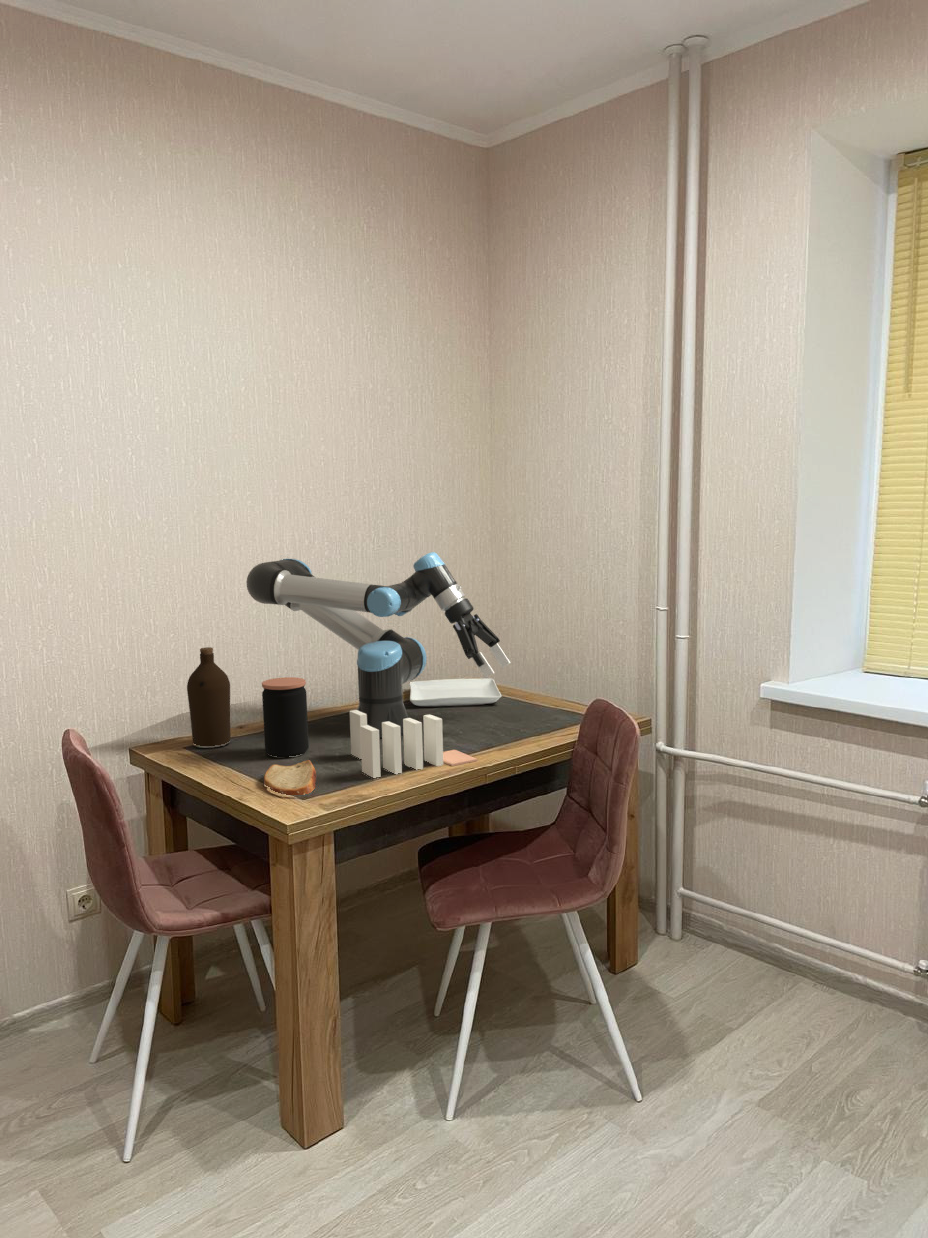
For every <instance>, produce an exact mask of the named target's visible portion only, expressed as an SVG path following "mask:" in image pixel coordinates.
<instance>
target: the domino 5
mask: <svg viewBox="0 0 928 1238" xmlns="http://www.w3.org/2000/svg"><path fill="white" fill-rule="evenodd" d="M422 717H423V719H422V720H423V748H424V749H423V752H424V754H423V760H424V762H426V761H427V763H428V762H429V764H431V765H433V766H435V767H440V766H443V765H444V762H443V752H444V740H443V737H444V736H443V732H444V731H443V718H441V717H439V716H435V715H432V714H430V713H429V714H425V715H423V716H422Z"/></svg>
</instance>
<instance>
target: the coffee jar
mask: <svg viewBox="0 0 928 1238" xmlns="http://www.w3.org/2000/svg"><path fill="white" fill-rule="evenodd" d="M306 683H307V682H306V679H304V678H301V677H294V676H293V677H291V676H289V677H276V678H269V679H266V680H264V681H262V682H261V687H262V688H263V690H262V692H261V696H262V716H263V736H264V738H263V739H264V751H265V753H266V754H267V755H268V754H269V755H272V756H277V757H289V756H296V755H300V754H303V753H305V752H306V751H308V750H309V747H310V745H309V744H310V743H309V722H308V701H307V700H308V699H307V690H306V688H305V686H306V685H307V684H306ZM306 753H307V752H306ZM306 753H305V754H306Z"/></svg>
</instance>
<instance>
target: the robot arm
mask: <svg viewBox="0 0 928 1238" xmlns="http://www.w3.org/2000/svg"><path fill="white" fill-rule="evenodd" d="M282 559H283V560H282ZM282 559H280V560H273V561H268V562H267V561H265V562H260V563H258V564H256V565H255V566H253V568H252V569H250V570H249V573H248V574H247V577H246V588H247V592H248V594H249V595H250V597H251V598H252V599H253V600H254V601H256V602H258V603H260V604H263V605H278V606H286V607H287V608H288V609H290V610H291V611H293V612H297V611H302V612H303V613H305V614H306V615H308V616H309V617H310V618H311V619H313V620H315V621H316V622H318V623H319V624H320V625H321V626H323V627H324V628H326V629H328V630H329V631H331V632H332V633H334V634H335V635H336V636H338V638H341V639H342V640H343V641H344V642H346V643H347V644H349V645H351V646H352V647H354V648H355V649H356V650H357V658H356V665H357V681H358V682H357V683H358V684H357V685H358V687H357V688H358V705H357V709H356V710H358V711H360V712H362V713H365V714H367V725H369V726H371V727H373V728H376V729H378V730H379V739H382V722H388V721H389V722H392V723H394V724H396V725H399V726H400V728H401V736H402V735H403V736H404V734H403V719H406V718H409V715H408V712H407V709H406V706H405V705H404V695H403V685H404V684H406V683H408V682H412V681H413V680H415V679H416V678H418V676H420V675H421V674H422V673H423V672H424V670H425V668H426V665H427V659H428V657H427V653H426V652H427V651H426V650H425V647H424V646H423V644H422V643H421V642H420V641H419V640H417V639H416V638H414V637H408V636H405V637H403V636H402V635H401V634H400V633H398V632H396V631H395V630H393V628H389V629H385V630H384V629H383V628H380V626H378V625H376V624H375V623H374V622H372V621H371V620H369V619H368V618H366V617H365V616H364V615H362V614H361V613H362V612H363V613H370V614H372V615H374V617H375V616H376V617H379V618H384V617H385V618H387V617H392V616H393V615H395V616H397V617H403V616H404V615H406V614H408V613H409V612H411V611H412V610H413V609H414V608H416V607H417V606H418V605H420V604H421V603H423V602H424V601H426V599H427V598H430V597H433V599H434V601H435V602H436V603H437V606H438V607H439V608H440V610H441V611H442V612H444V616H445V617H446V619H447V620H448V622H449V623H450V624H451V625H452V624H453V625H452V628H453V629H454V632H455V633H456V635H457V638H458V640H459V642H460V645H461V647H462V650H463V652H464V655H465V657H466V658H467V659H468V660H470V659H472V660H473V661H474V663H475V665H476V667H477V668H478V669H479V671H480V673H481V674H482V675H483V678H484V679H487V678H489V677H491V675H494V674H495V671H494V669H493V668H492V666H491V665H490V664H489V662H488V660H487V659H486V657H485V655H484V654H483V652H482V651H479V649H478V643H477V641H476V638H478V639H479V640H481V641H482V643H485V645H487V647H489V651H490V653H491V654H492V655H493V657H494V658H495V660H496V661H497V663H498V664H499V666H500V667H501V669H504V668H505V667H507V666H508V665H510V664H511V661H510V659H509V658H508V657H507V655H506V654H505V652H504V650H503V649H502V648H501V646H500V645H499V642H501V640H500V639H499V637H498V636H497V635H496V634H495V633H494V632H493V630H491V629H490V628H489V627H488V625H486V623H485V622H484V621H483V620H482V619H481V618H480V617H479V614H477V613H476V614H474V615H472V614H471V613H472V612H473V611H474V610H475V609H474V606H473V604H472V603H471V602H470V600H469V599H468V598H466V595H465V592H464V591H463V590H462V588H463V587H462V586H461V585H459V584H458V582H457V581H456V578H454V577H453V575H452V572H451V571H450V569H448V566H447V565H446V563H445V562H444V561H443V560H442V558H441V557H440V556H439V554H438V553H437V552H434V551H431V552H429V553H426V554H425V555H423V556H421V557H420V558H418V559H417V560H416V561H415V562H414V563H413V569H414V573H413V574H412V575H410V576H409V577H408V578H406V579H404V581H402V582H400V583H396V584H391V585H381V584H380V585H379V584H372V583H363V582H355V581H354V582H353V581H346V580H339V579H338V580H337V579H329V578H322V577H321V578H320V577H316V576H315V575H313V574H312V570H311V568H310V567H309V566H308V565H307V564H306V562H303V561H302V560H300V559H296V558H282ZM359 612H361V613H359Z"/></svg>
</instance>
